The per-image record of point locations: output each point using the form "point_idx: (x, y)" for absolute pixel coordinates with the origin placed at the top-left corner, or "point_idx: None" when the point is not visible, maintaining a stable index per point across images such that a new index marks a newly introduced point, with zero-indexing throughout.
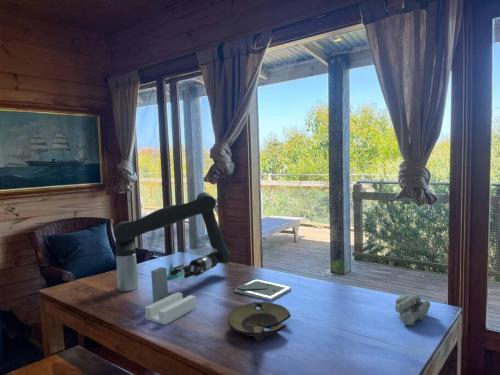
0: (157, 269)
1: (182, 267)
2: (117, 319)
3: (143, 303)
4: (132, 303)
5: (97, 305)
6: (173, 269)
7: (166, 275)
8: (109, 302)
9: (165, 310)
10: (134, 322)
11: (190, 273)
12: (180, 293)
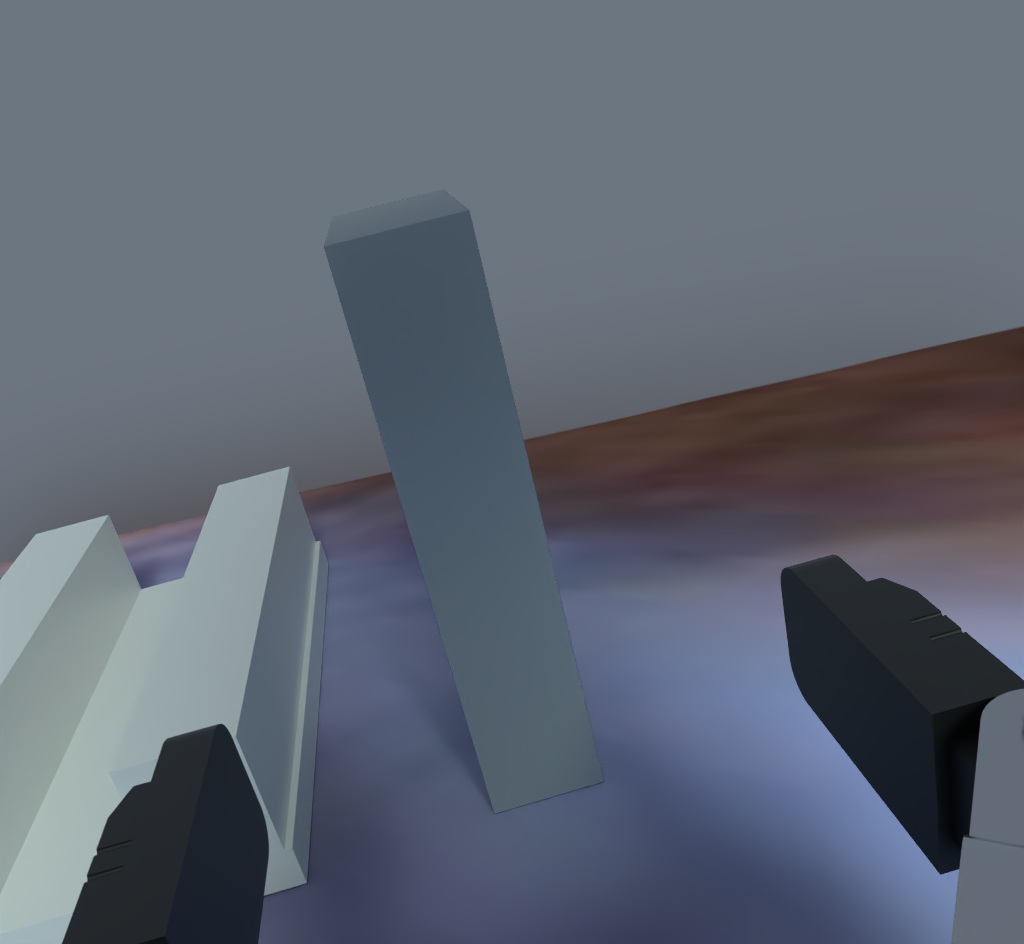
0: (418, 206)
1: (957, 909)
2: None
3: (705, 601)
4: (801, 537)
5: (973, 385)
6: None
7: (369, 396)
8: (1000, 428)
9: (44, 544)
10: (361, 518)
11: (74, 934)
12: (136, 750)
